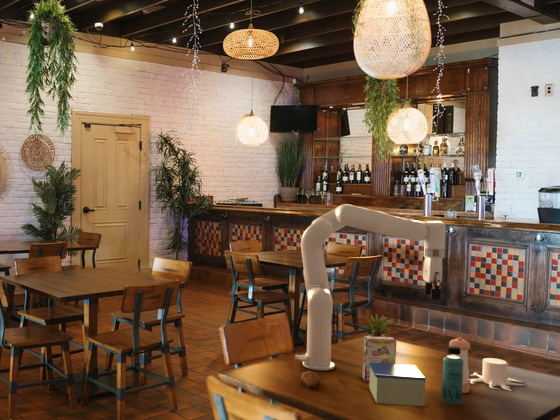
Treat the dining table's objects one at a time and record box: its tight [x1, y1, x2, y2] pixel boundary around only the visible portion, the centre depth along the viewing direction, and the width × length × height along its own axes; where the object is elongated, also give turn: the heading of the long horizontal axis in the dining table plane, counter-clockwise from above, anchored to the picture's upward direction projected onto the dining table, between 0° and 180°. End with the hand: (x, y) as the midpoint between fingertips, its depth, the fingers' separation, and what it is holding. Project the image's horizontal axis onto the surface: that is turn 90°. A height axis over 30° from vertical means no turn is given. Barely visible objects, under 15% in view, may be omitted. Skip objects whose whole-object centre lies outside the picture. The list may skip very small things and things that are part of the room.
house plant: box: [363, 314, 396, 337], centre depth 288 cm, size 14×14×16 cm
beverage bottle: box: [440, 346, 464, 405], centre depth 218 cm, size 6×7×20 cm
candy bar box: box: [361, 335, 397, 383], centre depth 244 cm, size 11×5×16 cm, turn 84°
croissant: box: [300, 370, 320, 389], centre depth 240 cm, size 14×7×5 cm, turn 174°
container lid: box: [369, 362, 427, 380], centre depth 226 cm, size 16×16×1 cm
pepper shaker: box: [448, 336, 471, 394], centre depth 235 cm, size 7×7×19 cm
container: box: [369, 368, 427, 407], centre depth 226 cm, size 16×16×9 cm
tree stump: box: [468, 357, 525, 392], centre depth 245 cm, size 20×19×8 cm
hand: (432, 296), depth 253 cm, fingers open, 9 cm apart
